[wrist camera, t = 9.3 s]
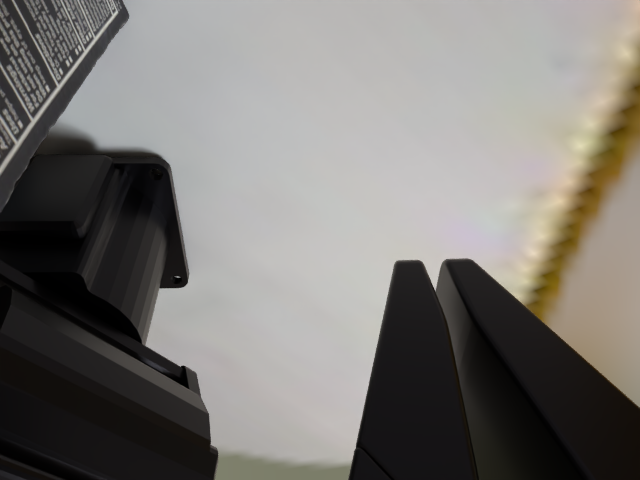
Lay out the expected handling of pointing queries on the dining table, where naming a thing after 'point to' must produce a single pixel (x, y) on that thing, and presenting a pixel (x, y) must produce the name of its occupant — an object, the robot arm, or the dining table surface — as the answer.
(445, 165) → the dining table surface
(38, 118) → the small box
